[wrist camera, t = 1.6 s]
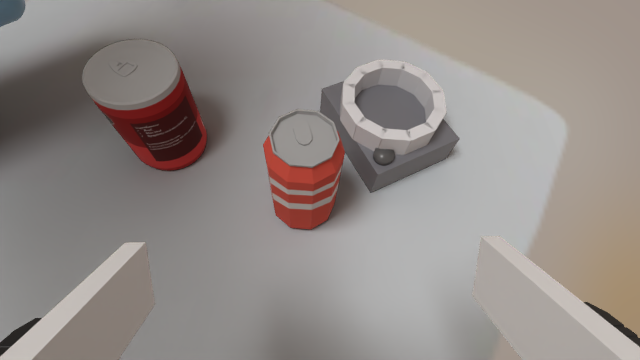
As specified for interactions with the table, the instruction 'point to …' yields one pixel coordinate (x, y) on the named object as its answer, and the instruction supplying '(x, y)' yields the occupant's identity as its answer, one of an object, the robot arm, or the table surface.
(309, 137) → the beverage can
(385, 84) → the mount
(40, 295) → the table surface
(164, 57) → the canned food
